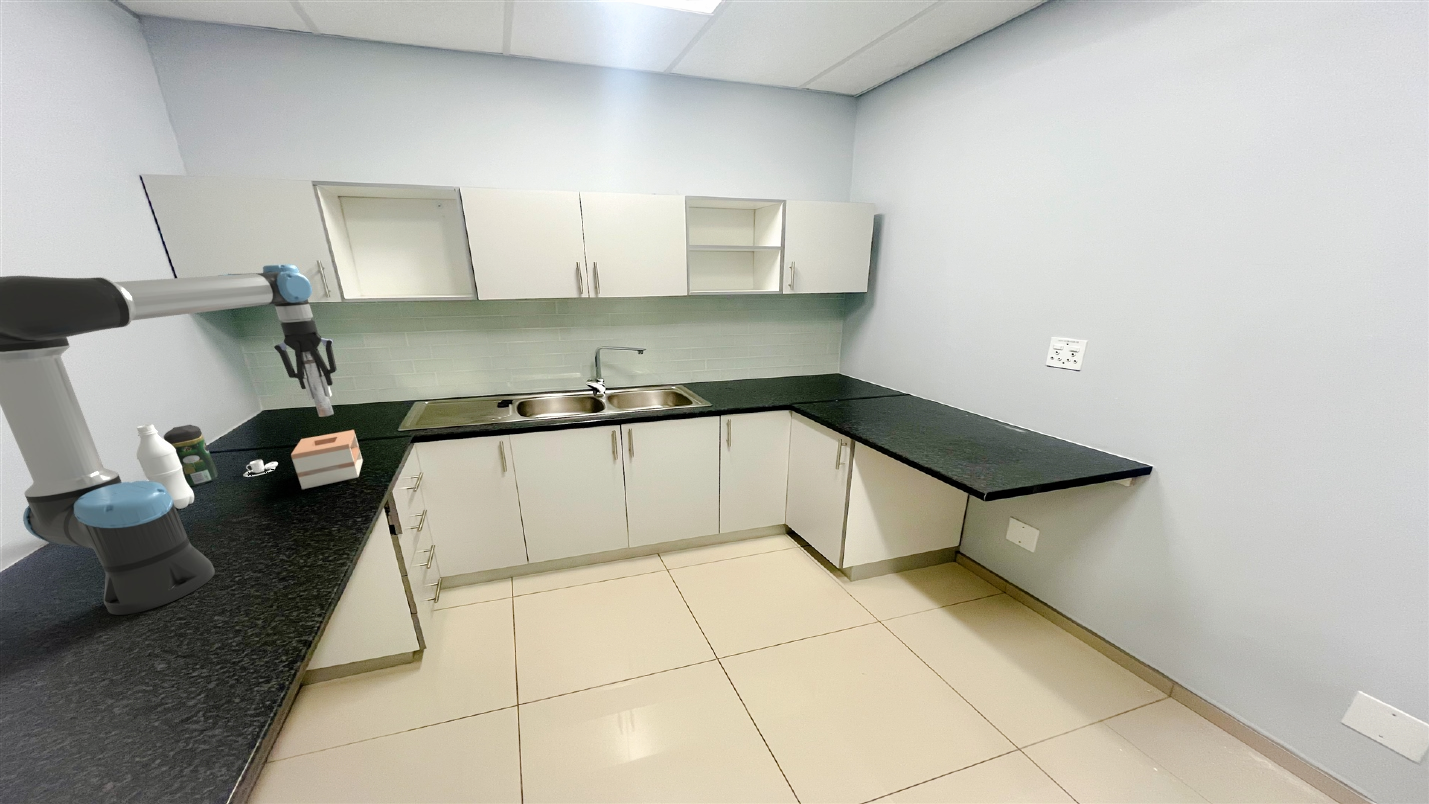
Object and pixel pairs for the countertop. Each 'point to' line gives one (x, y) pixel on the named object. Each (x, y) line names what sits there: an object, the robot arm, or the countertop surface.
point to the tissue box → (327, 459)
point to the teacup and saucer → (260, 467)
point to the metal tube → (316, 384)
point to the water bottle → (163, 465)
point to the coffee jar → (192, 454)
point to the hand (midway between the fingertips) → (321, 397)
